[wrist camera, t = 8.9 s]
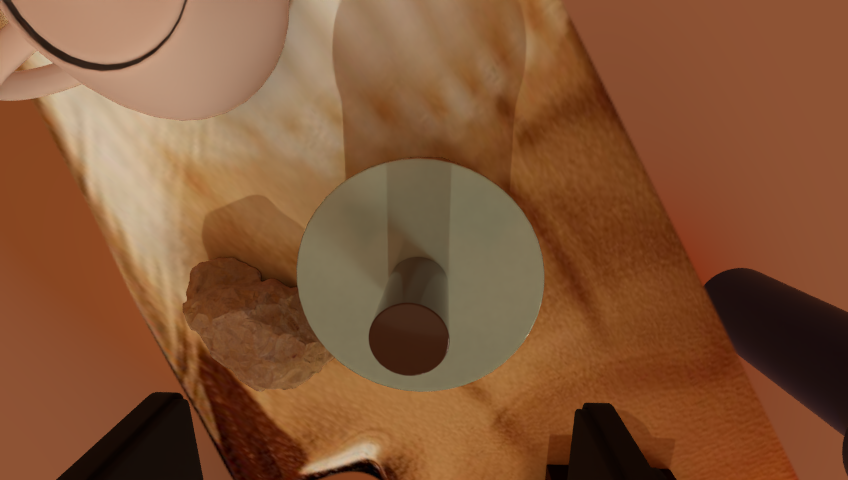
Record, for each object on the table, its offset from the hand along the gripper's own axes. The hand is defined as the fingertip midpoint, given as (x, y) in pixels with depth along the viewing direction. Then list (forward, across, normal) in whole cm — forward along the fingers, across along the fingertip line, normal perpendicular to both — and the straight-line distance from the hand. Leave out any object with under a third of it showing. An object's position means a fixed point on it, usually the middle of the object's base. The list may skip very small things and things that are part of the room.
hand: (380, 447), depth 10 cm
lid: (+11, 0, 0) cm, 11 cm away
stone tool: (+20, +12, +6) cm, 24 cm away
